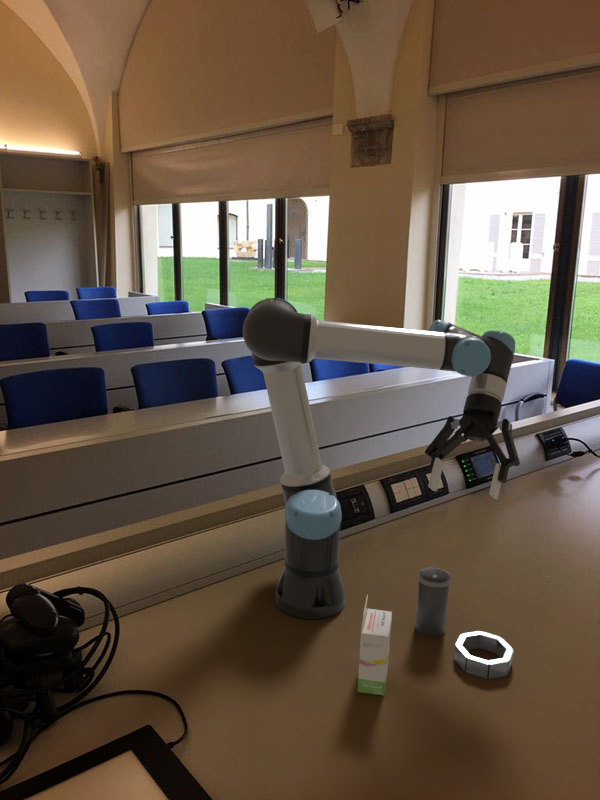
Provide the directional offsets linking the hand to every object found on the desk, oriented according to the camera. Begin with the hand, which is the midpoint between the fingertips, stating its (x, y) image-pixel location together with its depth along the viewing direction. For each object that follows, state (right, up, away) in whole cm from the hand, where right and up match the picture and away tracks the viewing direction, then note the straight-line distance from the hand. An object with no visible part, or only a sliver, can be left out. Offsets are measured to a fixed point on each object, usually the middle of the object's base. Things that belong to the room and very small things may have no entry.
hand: (461, 492), depth 138 cm
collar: (+2, -30, -10) cm, 32 cm away
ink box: (-20, -32, -16) cm, 41 cm away
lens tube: (-6, -28, 0) cm, 29 cm away
